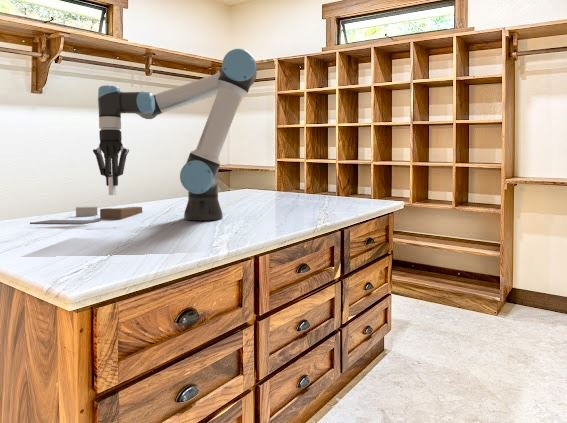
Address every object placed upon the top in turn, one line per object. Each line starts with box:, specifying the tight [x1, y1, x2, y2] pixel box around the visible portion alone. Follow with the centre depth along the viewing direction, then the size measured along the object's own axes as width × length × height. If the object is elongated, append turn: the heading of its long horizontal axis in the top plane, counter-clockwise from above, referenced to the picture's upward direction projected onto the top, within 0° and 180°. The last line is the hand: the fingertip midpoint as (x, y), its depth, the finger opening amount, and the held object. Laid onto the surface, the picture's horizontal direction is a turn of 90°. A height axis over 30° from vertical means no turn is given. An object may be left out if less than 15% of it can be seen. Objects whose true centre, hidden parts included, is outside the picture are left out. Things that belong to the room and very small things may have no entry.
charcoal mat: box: [29, 219, 102, 225], centre depth 176 cm, size 20×13×1 cm, turn 83°
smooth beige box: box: [75, 205, 98, 218], centre depth 196 cm, size 8×8×5 cm
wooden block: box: [99, 206, 143, 220], centre depth 194 cm, size 9×4×18 cm
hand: (112, 194), depth 173 cm, fingers closed
